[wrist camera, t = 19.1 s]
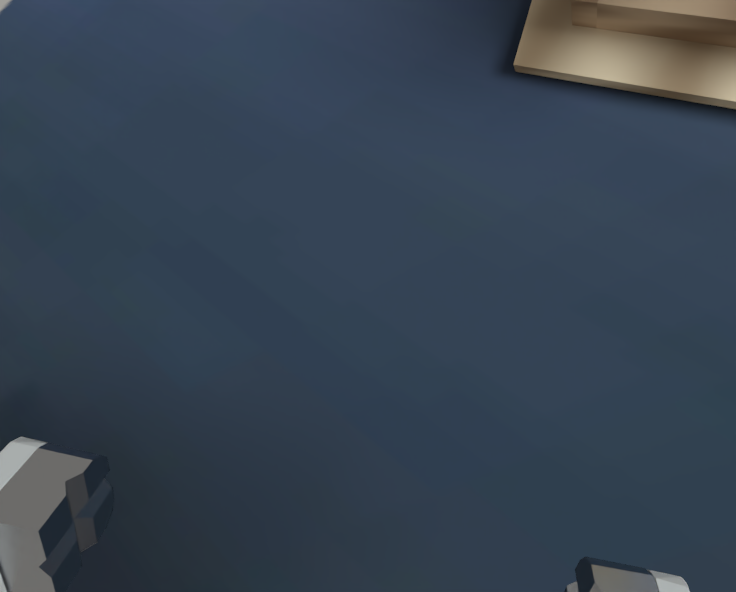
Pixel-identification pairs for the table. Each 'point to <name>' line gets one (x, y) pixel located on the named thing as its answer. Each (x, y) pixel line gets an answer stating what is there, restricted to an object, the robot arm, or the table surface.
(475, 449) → the table surface
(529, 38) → the oak stand
